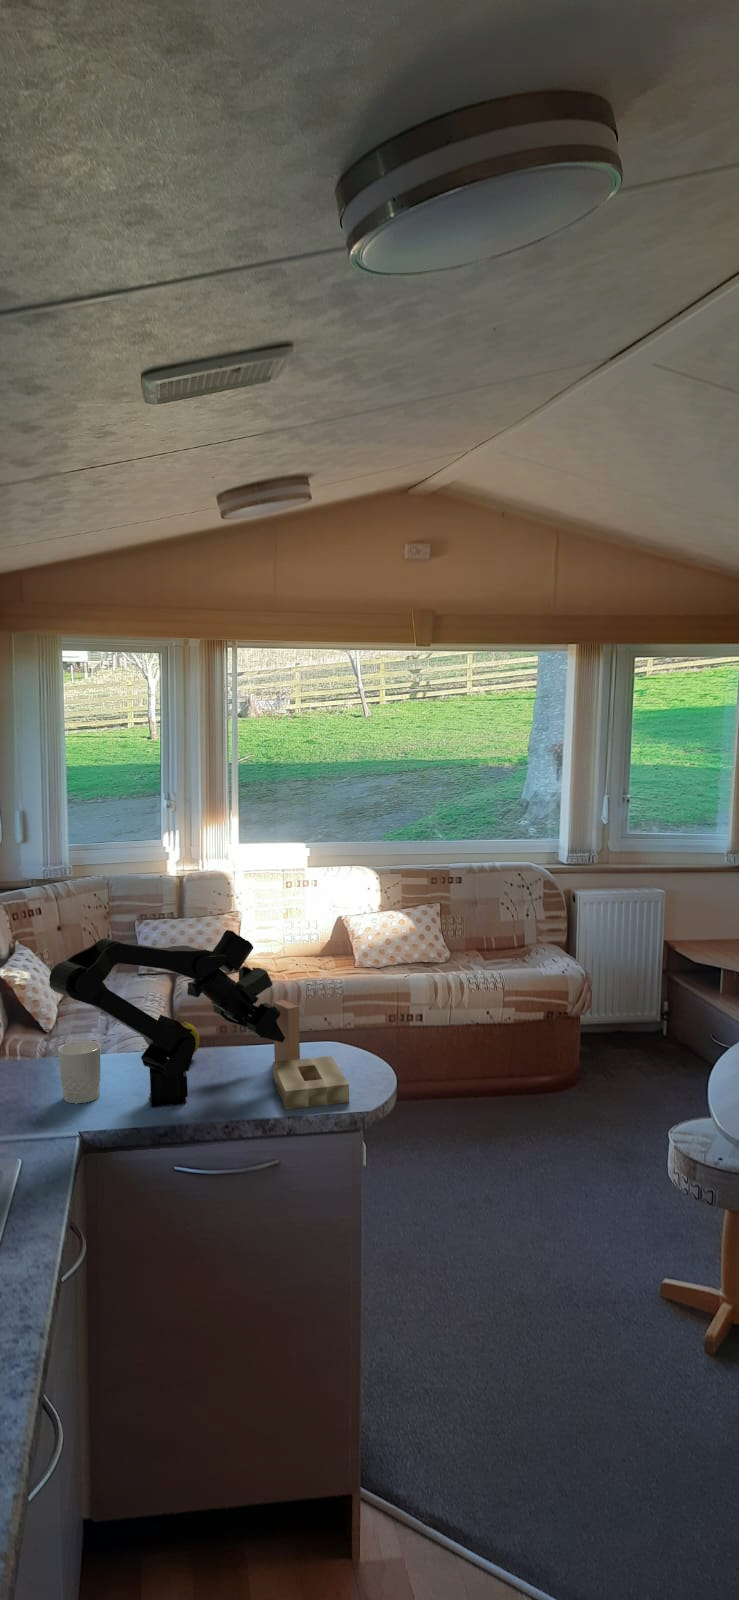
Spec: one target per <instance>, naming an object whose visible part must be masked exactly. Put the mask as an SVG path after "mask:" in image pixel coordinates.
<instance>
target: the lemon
mask: <svg viewBox="0 0 739 1600" xmlns="http://www.w3.org/2000/svg"><path fill="white" fill-rule="evenodd" d="M181 1024H182V1025H183V1026H184V1027H187V1028H189V1029H192V1031H191V1032H190V1033H191V1034H192V1035H194V1036H195V1038H196V1041H195V1042H196V1047H195V1051H194V1053H193V1055H194V1054H196V1052H197V1051H198V1049H199V1046H200V1035H199V1032H198V1029H197V1028H196V1027H195V1026H194V1025H193V1024H192V1023H188V1022H186V1021H184V1022H183V1023H181Z"/></svg>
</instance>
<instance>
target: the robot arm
mask: <svg viewBox="0 0 739 1600" xmlns="http://www.w3.org/2000/svg"><path fill="white" fill-rule="evenodd" d="M253 949H254V946H253V944H252V943H251V942H250V941H249V940H248V939H245V938H244V937H242V936H241V935H238V934H237V933H235V932H234V931H233V930H230V929H226V930H225V931H224V933H223V934H222V936H221V939H220V940H219V941H218V943H217V944H216V946H215V947H214V948H213V950H207V949H200V948H197V947H193V946H189V945H173V946H172V945H171V946H168V947H156V946H150V945H145V944H138V943H131V942H125V941H117V940H115V939H111V938H107V937H106V938H102V939H100V940H98V941H96V942H95V943H93V944H92V945H91V946H89V947H87V948H85V949H83V950H81V951H79V952H78V953H75V954H73V955H72V956H71V957H69V958H68V959H67V960H65V961H64V960H63V961H61V962H59V963H57V964H56V965H54V967H53V968H52V969H51V972H50V974H49V979H48V981H49V987H50V988H51V990H53V992H55V993H56V994H57V993H58V994H60V995H62V996H65V997H68V998H70V999H73V1000H76V1001H78V1002H80V1003H83V1004H87V1005H90V1006H92V1007H94V1008H96V1009H97V1010H98V1011H100V1012H102V1013H103V1014H105V1015H107V1016H108V1017H110V1018H112V1019H113V1020H115V1021H117V1022H118V1023H120V1024H121V1025H122V1026H123V1025H124V1027H127V1028H128V1029H129V1030H131V1031H133V1032H134V1033H136V1034H137V1035H140V1036H141V1037H142V1038H143V1040H144V1041H145V1043H146V1044H147V1047H146V1049H145V1051H144V1052H143V1054H142V1055H141V1056H140V1059H141V1061H142V1064H143V1066H144V1067H147V1068H149V1087H150V1093H149V1099H150V1101H149V1102H150V1107H151V1108H156V1107H167V1106H175V1105H183V1104H184V1105H185V1104H187V1100H186V1099H187V1097H188V1096H189V1093H188V1090H189V1089H188V1074H187V1072H188V1071H190V1068H191V1064H192V1060H193V1056H194V1054H195V1053H194V1051H195V1047H196V1042H195V1041H196V1038H195V1036H194V1035H192V1034H191V1033H190V1032H191V1031H192V1029H189V1028H187V1027H184V1026H183V1025H182V1024H183V1023H181V1022H180V1021H178V1020H176V1019H175V1018H171V1017H168V1016H166V1015H162V1014H160V1015H159V1016H158V1019H156V1018H154V1017H152V1016H151V1015H149V1014H148V1013H147V1012H145V1011H143V1010H142V1009H140V1008H138V1006H135V1005H134V1004H132V1003H130V1002H129V1001H127V1000H125V999H124V998H123V997H121V996H119V995H118V994H116V993H114V992H113V991H112V990H110V989H109V988H108V987H107V985H106V984H105V982H104V981H105V980H106V979H107V977H108V976H109V975H110V973H111V971H112V970H113V968H114V967H115V966H117V964H125V965H133V966H139V967H147V968H154V969H162V970H166V971H169V972H171V973H174V974H176V975H179V976H182V977H186V978H190V979H192V981H188V982H187V996H191V997H194V998H199V997H200V996H201V994H203V995H204V996H205V997H206V998H208V999H209V1001H211V1004H213V1012H214V1013H215V1014H216V1015H217V1016H218V1017H219V1018H222V1019H223V1020H225V1021H227V1022H229V1023H232V1024H236V1025H238V1026H243V1027H245V1028H246V1029H247V1030H248V1031H249V1032H250V1033H252V1034H253V1035H255V1036H257V1037H259V1038H261V1039H267V1040H271V1041H273V1042H274V1041H278V1042H283V1041H284V1040H285V1037H284V1035H283V1033H282V1031H281V1030H280V1028H279V1026H278V1024H277V1019H278V1017H279V1016H280V1011H279V1010H278V1009H277V1008H276V1007H274V1006H273V1004H271V1003H268V1002H263V1003H260V1004H259V1005H258V1006H257V1005H255V1004H256V1003H257V1002H258V1000H260V999H259V997H258V995H260V994H261V993H263V992H264V991H266V990H267V989H270V988H271V987H272V986H273V981H272V980H271V977H270V974H269V973H268V971H267V970H265V969H263V968H261V967H252V968H250V967H247V966H245V965H244V963H245V961H246V960H247V958H248V957H249V956H250V954H251V952H252V951H253ZM233 971H234V972H235V973H237V972H238V980H237V981H235V980H233V979H232V978H231V977H230V976H229V975H228V974H231V973H232V972H233ZM225 972H226V973H228V974H226V973H225ZM193 1053H194V1054H193Z"/></svg>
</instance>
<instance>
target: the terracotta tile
mask: <svg viewBox="0 0 739 1600" xmlns="http://www.w3.org/2000/svg"><path fill="white" fill-rule="evenodd" d="M272 1006H274V1007H276V1008H277V1009H278V1010H279V1011H280V1016H279V1017H278V1019H277V1024H278V1026H279V1028H280V1030H281V1031H282V1033H283V1035H284V1037H285V1040H284V1041H283V1042H278V1041H274V1040H273V1046H274V1047H273V1049H274V1051H273V1053H274V1062H279V1061H288V1060H298V1059H301V1051H300V1050H301V1046H300V1011H299V1005H296V1004H294V1003H292V1002H289V1001H287V1000H284V999H281V1000H277V1001H273V1002H272Z"/></svg>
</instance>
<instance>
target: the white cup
mask: <svg viewBox="0 0 739 1600" xmlns="http://www.w3.org/2000/svg"><path fill="white" fill-rule="evenodd" d="M101 1046H102V1045H101V1043H99V1042H97V1041H94V1040H77V1041H76V1040H75V1041H71V1042H67V1043H65V1044H62V1045H61V1046H58V1048H57V1055H58V1063H59V1064H58V1065H59V1074H60V1082H61V1087H62V1096H63V1100H65V1101H67V1102H69V1103H68V1104H70V1103H84V1104H87V1103H86V1102H88V1103H90V1101H92V1102H94V1101H95V1099H96V1100H98V1098H99V1097H100V1096H101V1091H100V1090H101V1087H100V1086H101V1085H100V1083H101V1073H102V1072H101V1069H102V1068H101V1064H102V1061H101V1054H102V1053H101V1048H102V1047H101ZM93 1100H94V1101H93ZM65 1101H64V1102H65ZM67 1102H66V1103H67Z"/></svg>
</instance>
